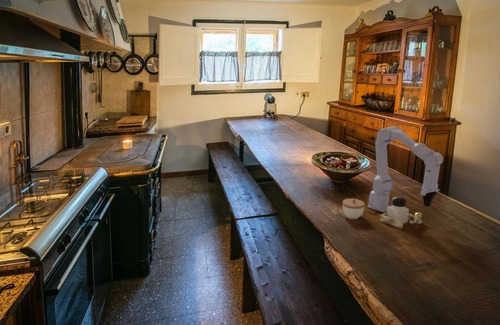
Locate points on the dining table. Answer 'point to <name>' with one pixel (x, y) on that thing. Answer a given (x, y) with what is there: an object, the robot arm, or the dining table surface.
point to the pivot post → (418, 221)
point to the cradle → (393, 220)
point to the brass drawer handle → (415, 217)
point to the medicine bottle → (398, 210)
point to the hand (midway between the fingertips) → (426, 205)
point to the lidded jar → (353, 208)
